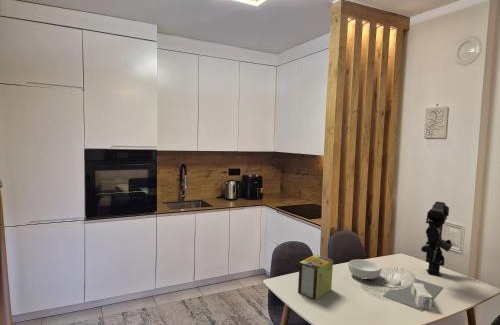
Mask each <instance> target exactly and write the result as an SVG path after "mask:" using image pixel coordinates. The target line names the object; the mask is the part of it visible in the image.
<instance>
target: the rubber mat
mask: <svg viewBox="0 0 500 325" xmlns="http://www.w3.org/2000/svg"><path fill="white" fill-rule="evenodd" d="M414 283H421V284H424V285H425V286H426V288H427V290H428V291H429V293H430V294H431V296H432V301H433V300H434V299H435V298H436V296H438V294H439V293H440V292H441V291H442V289H443V288H444V287H443V286H440V285H437V284H435V283H431V282H427V281H424V280H421V279H418V278H415V282H414ZM394 286H401V282H400V281H399V282H398V283H397V284H395V285H394ZM411 286H412V285H411ZM411 286H409V287H407V288H404V289H399V290H390V289H389V290H388V291H387V292H385V293H384V294H383V295H382V297H383V298H386V299H389V300H392V301H394V302H396V303H400V304H403V305H405V306H407V307H410V308H413V309H415V310H418V311H421V312H424V311H425V309H426V308H421V307H418V306H417V304H416V302H415V300H414V298H413V296H412V294H411Z"/></svg>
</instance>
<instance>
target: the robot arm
mask: <svg viewBox="0 0 500 325" xmlns="http://www.w3.org/2000/svg"><path fill="white" fill-rule="evenodd" d="M449 215H450V207H449V206H447V204H446V203H445V202H444V201H443V202H442V201H435V202H434V204H433V205H432V208H429V211H427V214H426V220H425V223H426V224H428V227H427V228H426V230H425V234H426V238H427V241H426V243H425V244H424V245H423V246H422V247H421V252H423V253H426V254H425V262H426V263H428V266H427V267H428V268H427V269H426V270H425V271H426V272H427V274H428V275H432V276H438V277H441V276H442V274H441V272H440V270H441V269H440V268H441V266H442V267H443V266H444V265H445V256H444V254H443V251H445V252H449V251H451V248H452V247H453V243H452V240H450V239H447V240H445V239H442V235H443V228H444V227H443V226H444V225H445V224H446V223H445V222H446V220H448V217H449ZM442 249H443V251H442Z"/></svg>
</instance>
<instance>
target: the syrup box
mask: <svg viewBox="0 0 500 325" xmlns="http://www.w3.org/2000/svg"><path fill="white" fill-rule="evenodd" d="M411 294H412V296H413V298H414V300H415V302H416V304H417V306H418V307H421V308H425V309H427V310H431V309H432V306H433V305H432V303H433V300H432V296H431V294H430V293H429V291H428V290H427V288H426V286H425V285H424V284H421V283H413V282H412V286H411Z"/></svg>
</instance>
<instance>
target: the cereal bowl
mask: <svg viewBox="0 0 500 325" xmlns="http://www.w3.org/2000/svg"><path fill="white" fill-rule="evenodd" d="M348 270H349V272H350V273H351V274H352V275H353V276H355V277H356V278H358V279H360V280H363V279H362V278H367V279H370V280H374V279H376V278H378V277H380V274H381V272H382V268H381V265H380V264H378V263H377V262H374V261H371V260H367V259H357V258H356V259H351V260H350V261H348ZM363 281H364V280H363Z"/></svg>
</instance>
